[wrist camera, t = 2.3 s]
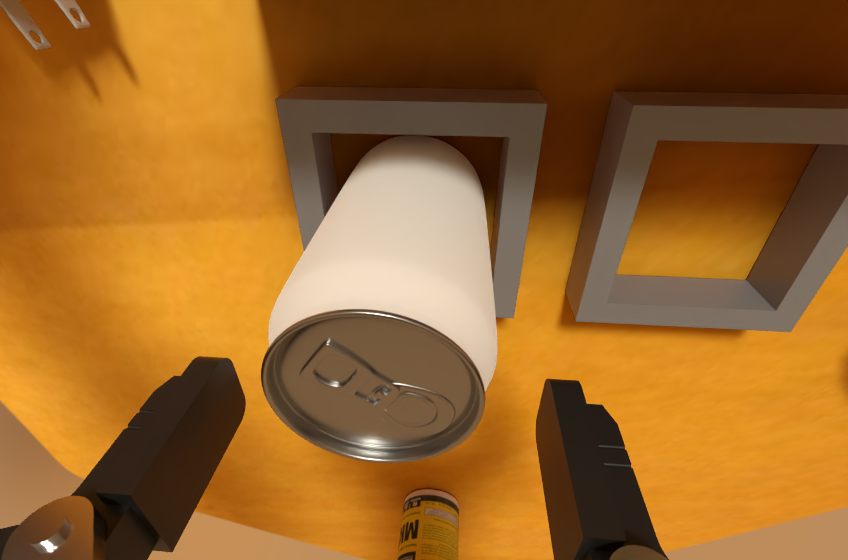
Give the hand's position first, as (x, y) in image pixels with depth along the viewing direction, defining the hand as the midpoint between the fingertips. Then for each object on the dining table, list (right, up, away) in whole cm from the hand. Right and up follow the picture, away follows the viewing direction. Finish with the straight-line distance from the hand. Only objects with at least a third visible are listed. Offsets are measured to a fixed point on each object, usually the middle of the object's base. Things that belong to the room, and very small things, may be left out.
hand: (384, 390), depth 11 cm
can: (+1, +7, +10) cm, 12 cm away
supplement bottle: (+2, -16, +26) cm, 30 cm away
